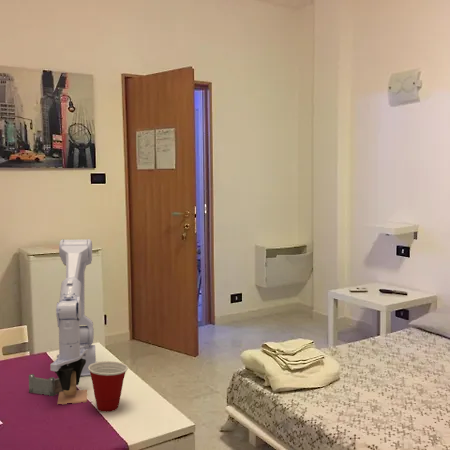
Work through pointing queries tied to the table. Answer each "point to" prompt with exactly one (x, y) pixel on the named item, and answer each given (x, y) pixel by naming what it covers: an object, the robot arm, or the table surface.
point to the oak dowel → (72, 385)
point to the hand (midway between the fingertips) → (70, 387)
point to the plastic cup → (107, 383)
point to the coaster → (73, 397)
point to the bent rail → (44, 385)
